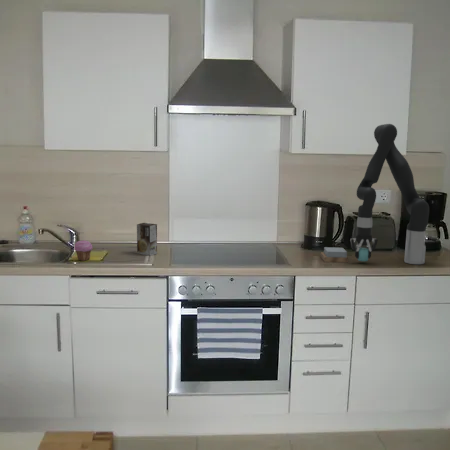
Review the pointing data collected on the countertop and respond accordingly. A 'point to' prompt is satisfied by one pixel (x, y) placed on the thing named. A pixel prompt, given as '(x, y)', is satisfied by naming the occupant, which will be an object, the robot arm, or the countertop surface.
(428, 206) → the robot arm
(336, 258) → the bottom block
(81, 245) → the cupcake
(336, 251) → the top block
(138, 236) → the coffee box
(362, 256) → the teal cylinder
